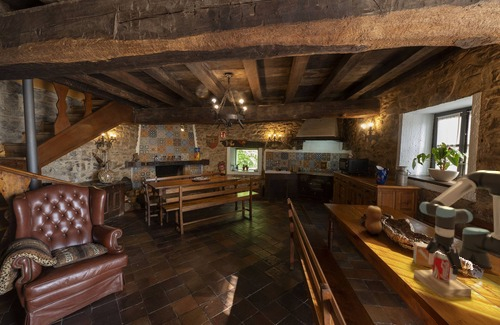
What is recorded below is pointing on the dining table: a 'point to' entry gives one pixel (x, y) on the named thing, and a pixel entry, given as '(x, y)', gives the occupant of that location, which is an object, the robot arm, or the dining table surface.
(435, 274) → the soda can
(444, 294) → the square wooden board
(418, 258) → the small box
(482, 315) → the dining table surface
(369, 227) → the butternut squash
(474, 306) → the dining table surface
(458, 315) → the dining table surface
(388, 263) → the dining table surface
